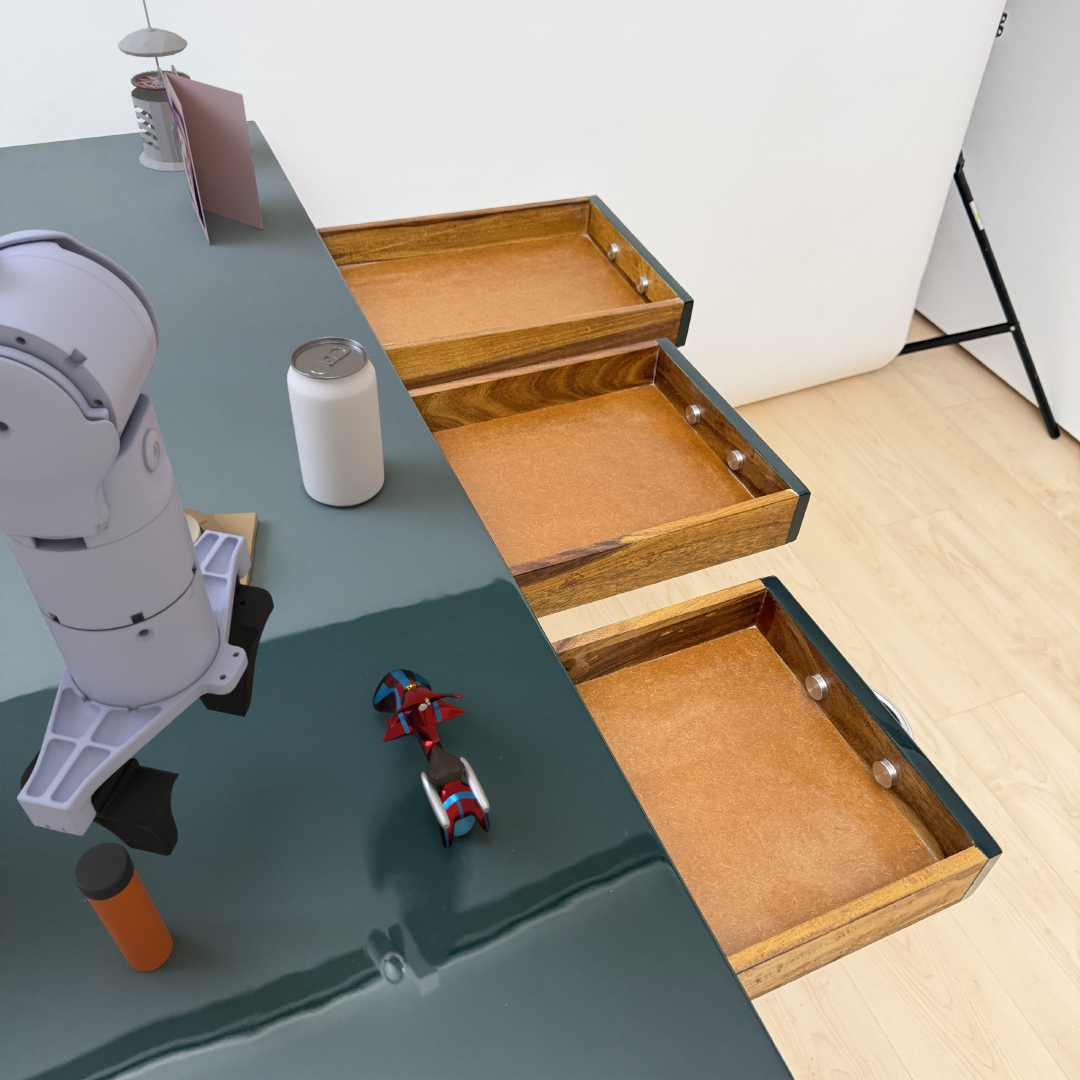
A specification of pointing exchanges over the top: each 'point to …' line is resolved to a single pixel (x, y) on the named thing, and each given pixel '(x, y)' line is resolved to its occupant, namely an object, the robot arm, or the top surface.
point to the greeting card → (215, 150)
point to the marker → (123, 905)
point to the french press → (155, 96)
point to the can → (336, 420)
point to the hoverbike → (433, 751)
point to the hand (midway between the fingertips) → (193, 772)
